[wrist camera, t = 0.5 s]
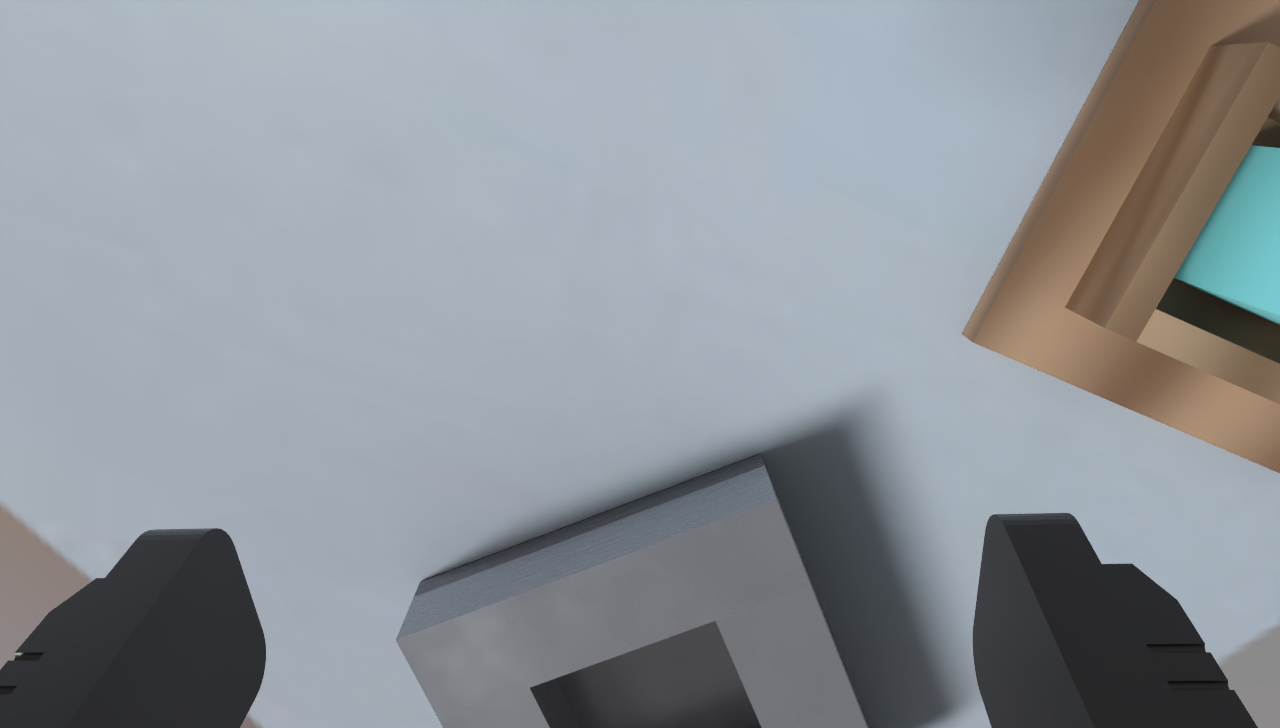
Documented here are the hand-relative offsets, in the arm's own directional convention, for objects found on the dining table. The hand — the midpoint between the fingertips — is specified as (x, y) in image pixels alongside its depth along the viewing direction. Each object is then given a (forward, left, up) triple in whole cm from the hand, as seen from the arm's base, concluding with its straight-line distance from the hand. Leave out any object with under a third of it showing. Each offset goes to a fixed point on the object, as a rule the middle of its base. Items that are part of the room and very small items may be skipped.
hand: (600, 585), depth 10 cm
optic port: (+14, -2, -20) cm, 24 cm away
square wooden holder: (+3, +18, -20) cm, 27 cm away
